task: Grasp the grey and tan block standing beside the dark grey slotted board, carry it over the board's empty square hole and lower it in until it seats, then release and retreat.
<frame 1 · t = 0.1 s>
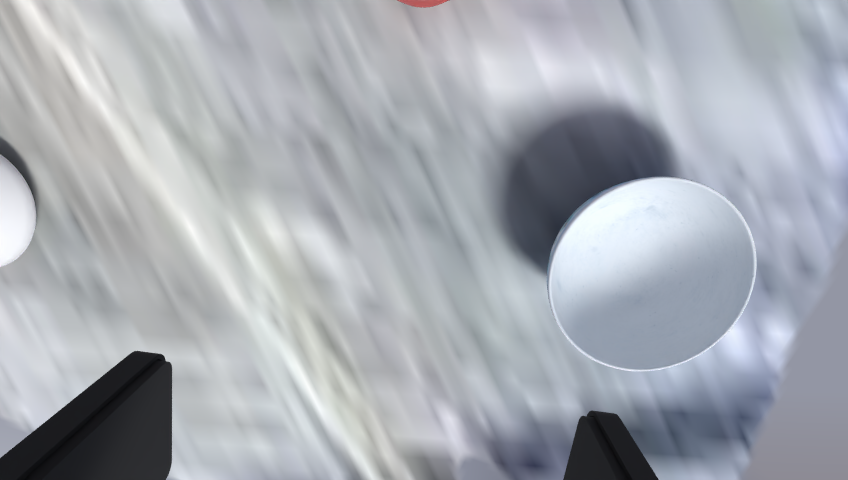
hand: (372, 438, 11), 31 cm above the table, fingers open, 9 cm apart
chinaware: (611, 249, 42), on the table
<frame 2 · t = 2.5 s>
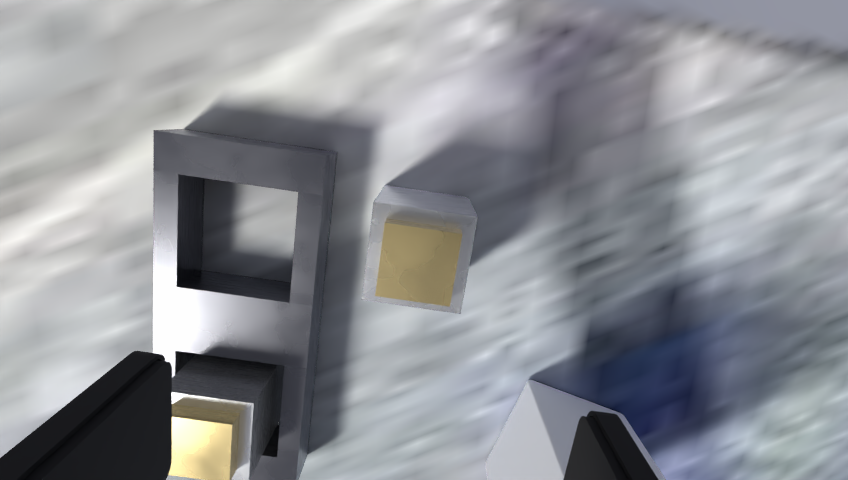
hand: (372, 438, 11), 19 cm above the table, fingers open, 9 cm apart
tan topped grey block: (247, 378, 31), resting in dark grey slotted board
grey and tan block: (420, 231, 29), on the table
dark grey slotted board: (250, 306, 30), on the table
milk carton: (551, 435, 32), on the table
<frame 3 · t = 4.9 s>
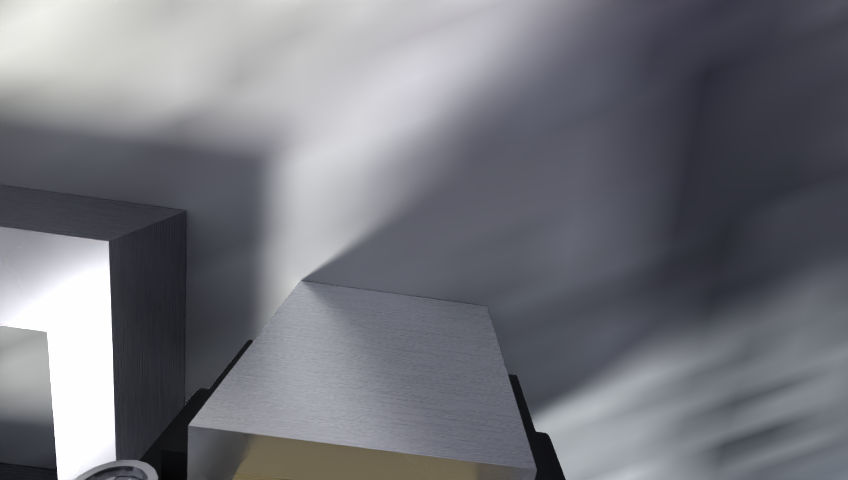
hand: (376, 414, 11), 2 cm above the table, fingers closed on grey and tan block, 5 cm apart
grey and tan block: (383, 376, 13), on the table, touching gripper
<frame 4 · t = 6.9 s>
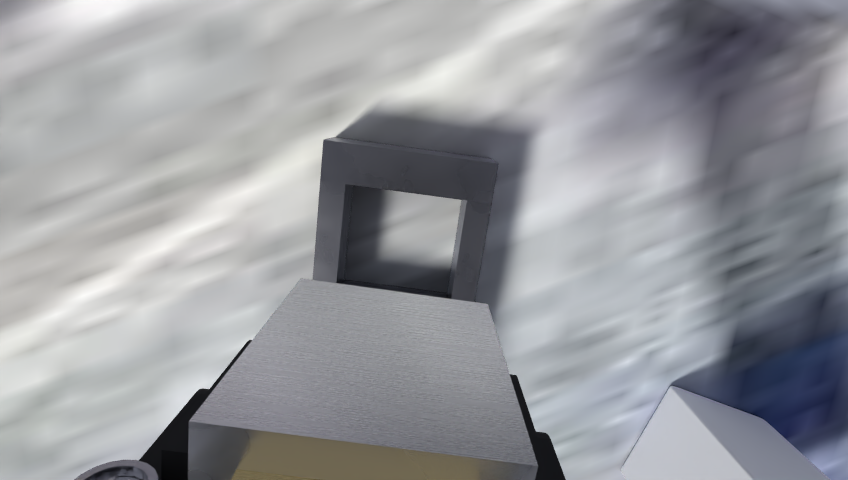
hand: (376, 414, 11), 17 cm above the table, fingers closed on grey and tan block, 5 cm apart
grey and tan block: (383, 374, 13), point 16 cm above the table, touching gripper
dark grey slotted board: (392, 316, 30), on the table
milk carton: (688, 441, 32), on the table
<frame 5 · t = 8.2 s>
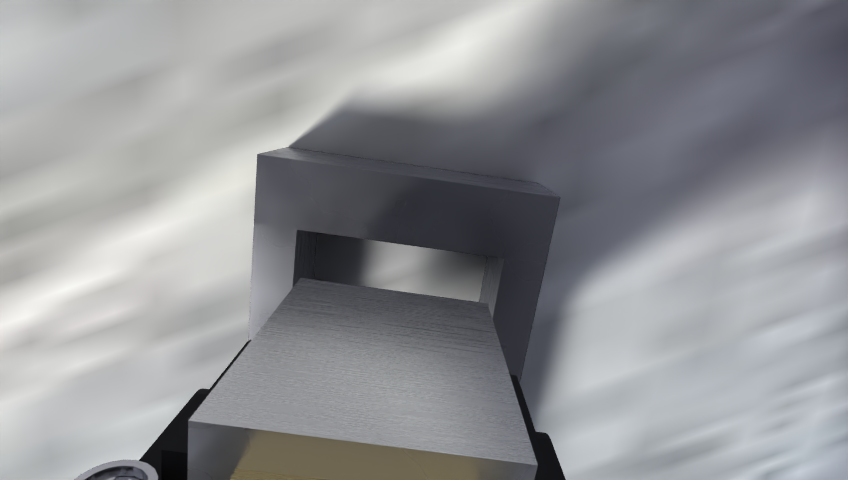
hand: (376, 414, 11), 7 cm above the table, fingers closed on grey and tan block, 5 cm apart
grey and tan block: (383, 374, 13), point 5 cm above the table, touching gripper
dark grey slotted board: (379, 418, 19), on the table
when the fingers open (4 cm above the table, at t = 9.2 s): grey and tan block drops 2 cm, resting in dark grey slotted board.
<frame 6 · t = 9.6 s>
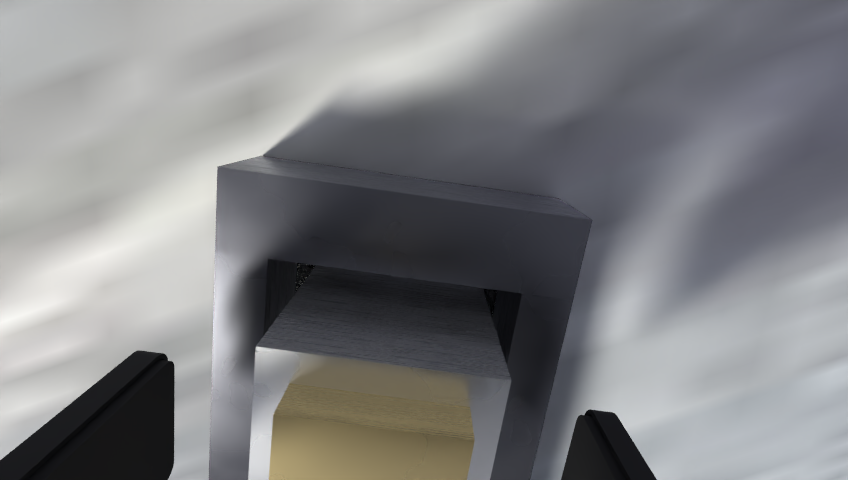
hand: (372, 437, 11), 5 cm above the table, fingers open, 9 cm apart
grey and tan block: (391, 337, 16), resting in dark grey slotted board
dark grey slotted board: (372, 468, 17), on the table
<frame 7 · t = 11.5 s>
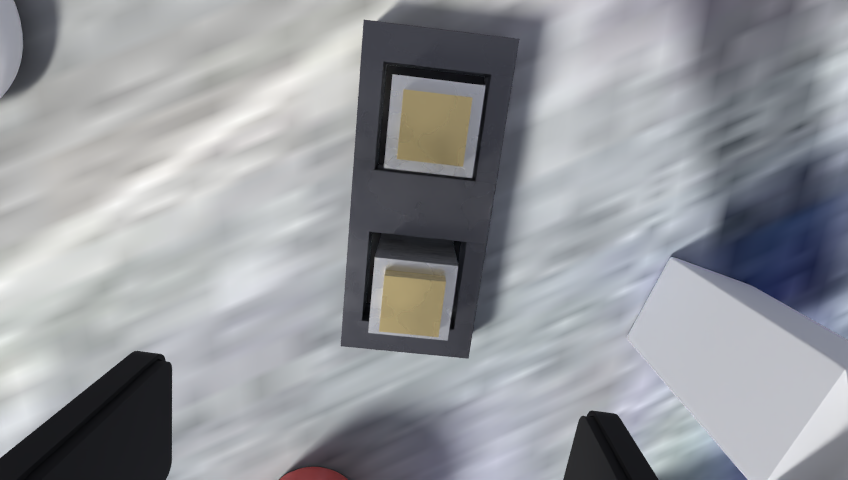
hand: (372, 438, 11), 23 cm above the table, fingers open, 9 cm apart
tan topped grey block: (413, 266, 35), resting in dark grey slotted board
grey and tan block: (431, 122, 32), resting in dark grey slotted board
dark grey slotted board: (421, 197, 33), on the table
milk carton: (686, 310, 36), on the table
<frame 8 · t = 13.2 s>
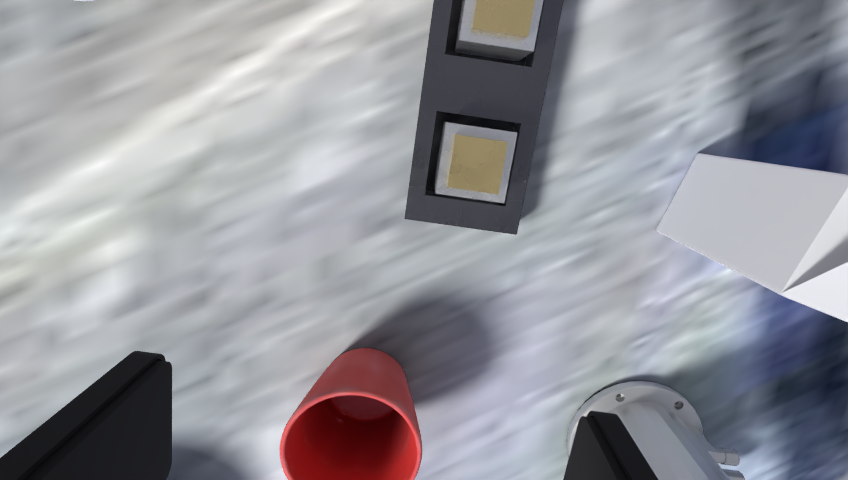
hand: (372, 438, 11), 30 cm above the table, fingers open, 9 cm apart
tan topped grey block: (468, 156, 39), resting in dark grey slotted board
grey and tan block: (491, 22, 36), resting in dark grey slotted board
dark grey slotted board: (479, 91, 38), on the table
milk carton: (710, 206, 40), on the table
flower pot: (367, 382, 45), on the table
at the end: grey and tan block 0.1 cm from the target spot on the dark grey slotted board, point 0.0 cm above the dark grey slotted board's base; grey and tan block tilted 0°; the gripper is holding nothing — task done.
